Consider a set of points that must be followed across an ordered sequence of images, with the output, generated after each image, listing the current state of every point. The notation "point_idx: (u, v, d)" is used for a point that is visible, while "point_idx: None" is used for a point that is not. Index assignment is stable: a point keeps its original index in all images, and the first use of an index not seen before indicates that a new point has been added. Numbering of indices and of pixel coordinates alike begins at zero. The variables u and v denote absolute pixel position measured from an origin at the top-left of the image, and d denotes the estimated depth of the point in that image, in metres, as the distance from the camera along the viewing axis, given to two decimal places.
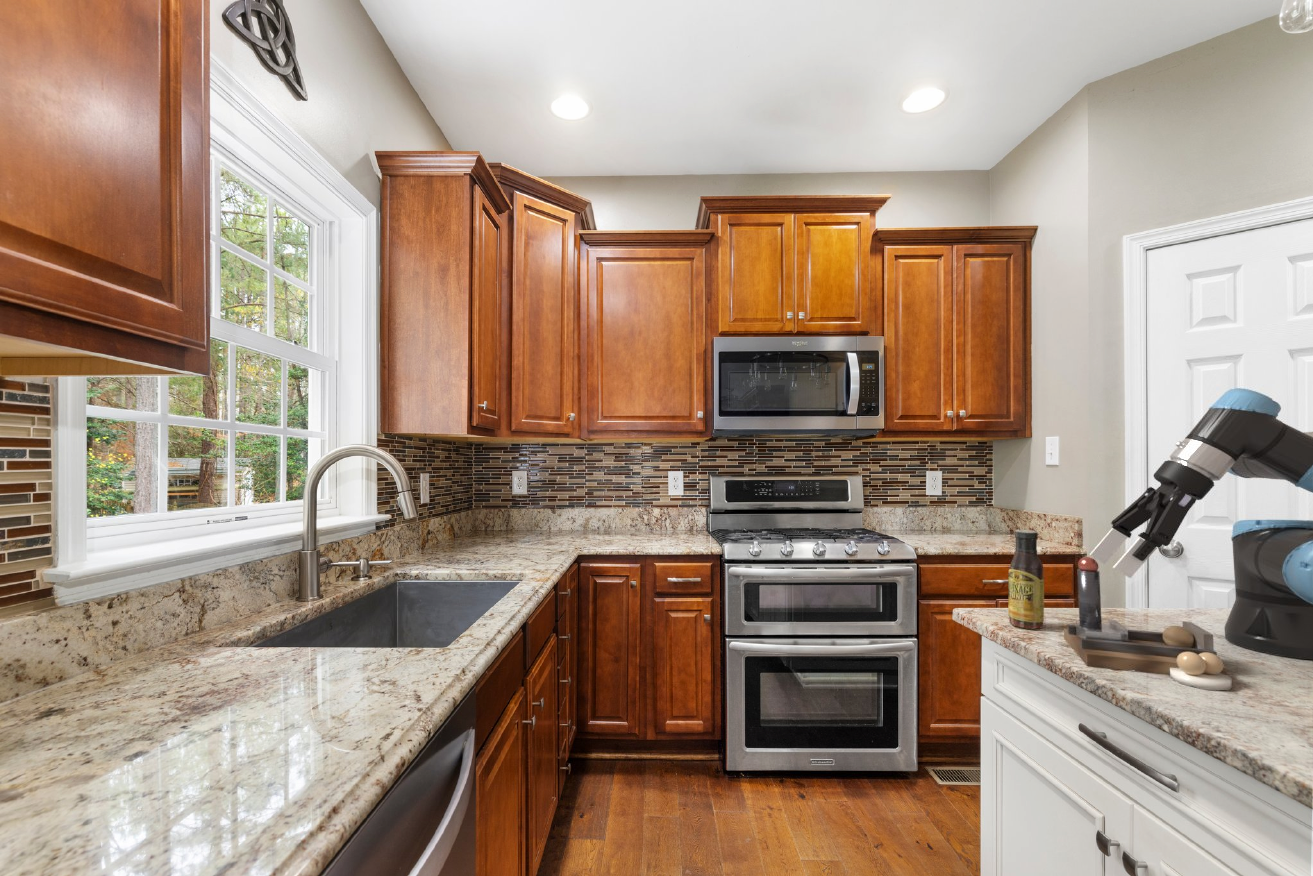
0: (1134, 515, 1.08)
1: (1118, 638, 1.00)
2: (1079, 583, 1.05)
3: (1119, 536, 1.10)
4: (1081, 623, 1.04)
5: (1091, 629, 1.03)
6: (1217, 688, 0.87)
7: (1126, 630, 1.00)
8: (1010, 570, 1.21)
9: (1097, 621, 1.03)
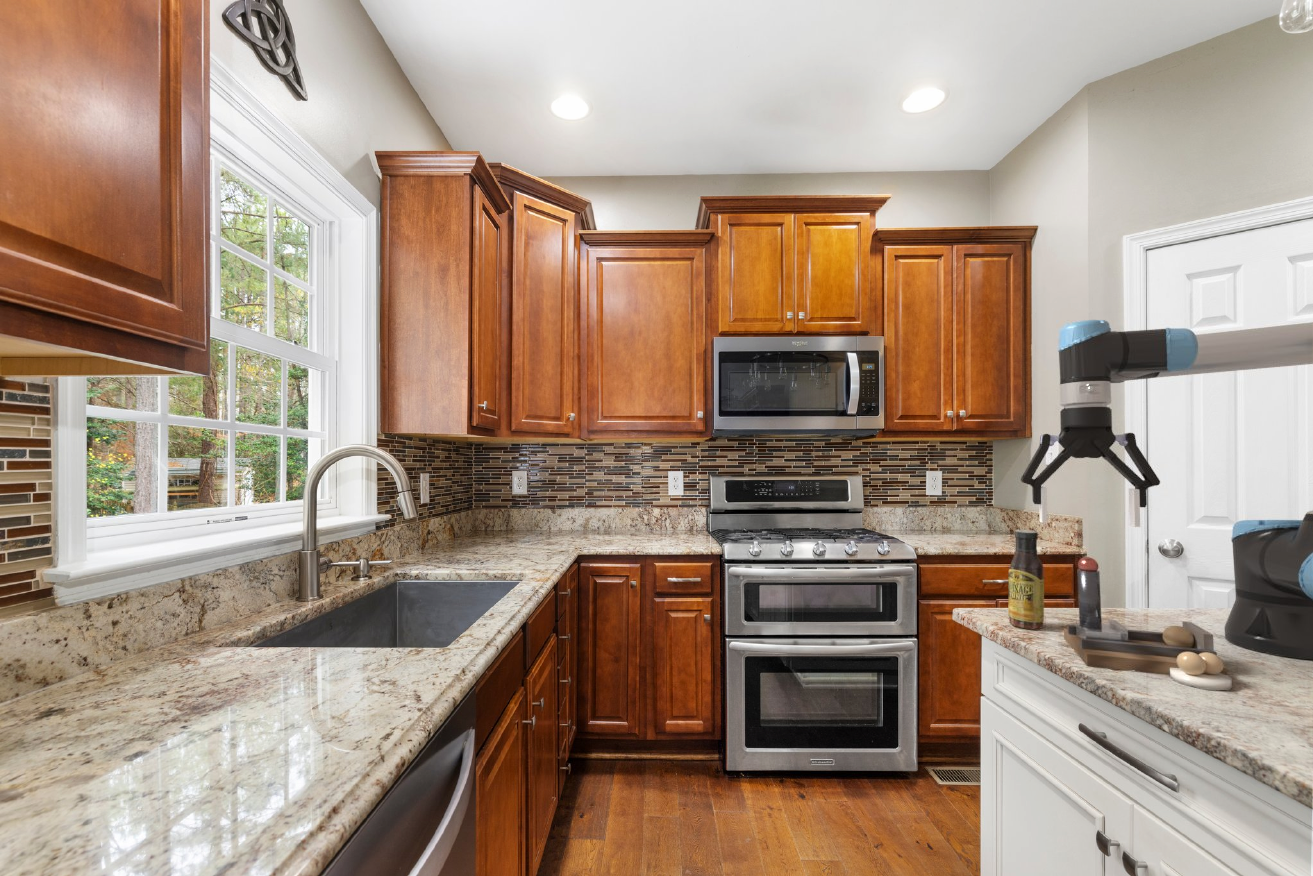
0: (1059, 466, 1.06)
1: (1118, 638, 1.00)
2: (1079, 583, 1.05)
3: None
4: (1081, 623, 1.04)
5: (1091, 629, 1.03)
6: (1217, 688, 0.87)
7: (1126, 630, 1.00)
8: (1010, 570, 1.21)
9: (1097, 621, 1.03)
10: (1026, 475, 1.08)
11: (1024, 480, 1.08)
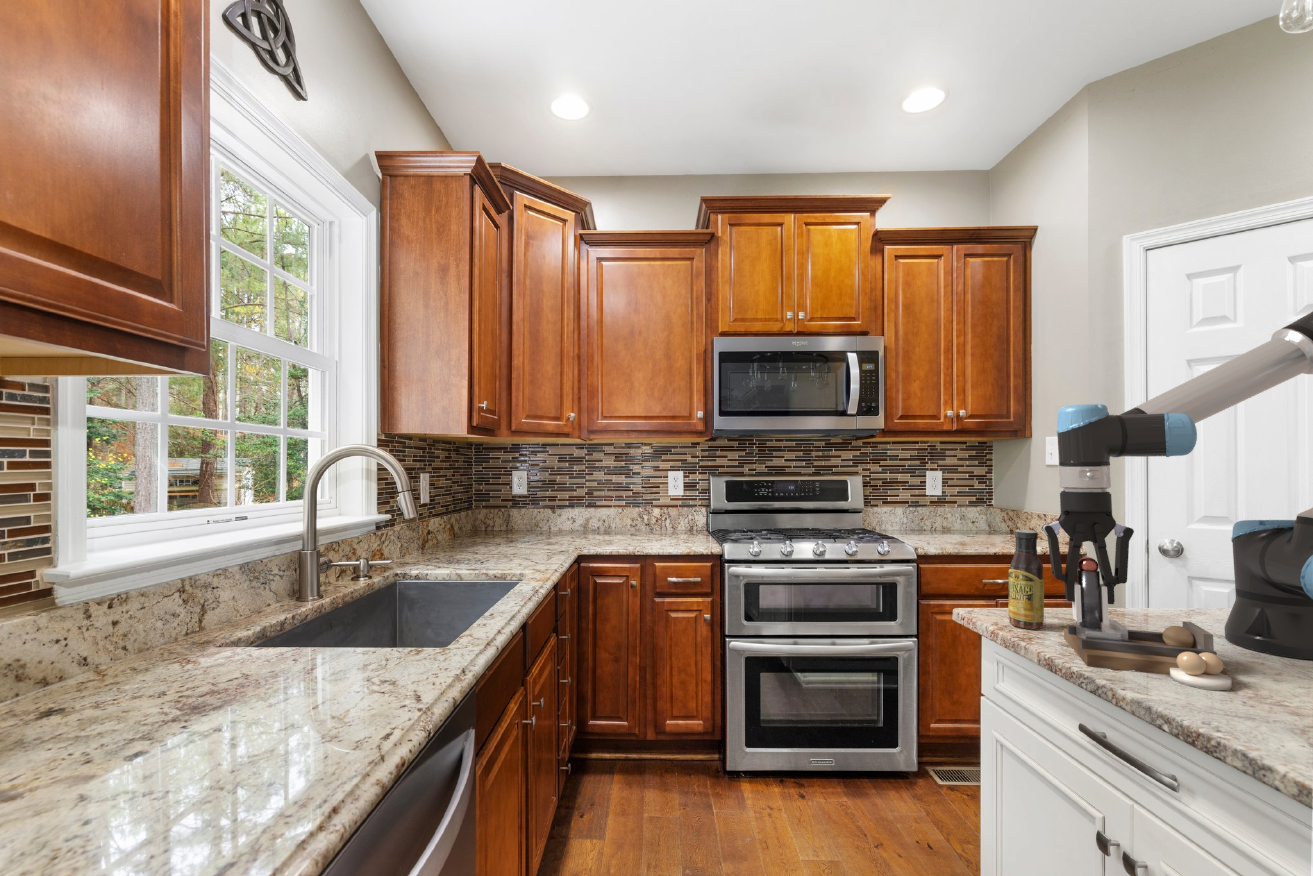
0: (1078, 555, 1.05)
1: (1118, 638, 1.00)
2: (1079, 583, 1.05)
3: None
4: (1081, 623, 1.04)
5: (1091, 629, 1.03)
6: (1217, 688, 0.87)
7: (1126, 630, 1.00)
8: (1010, 570, 1.21)
9: (1097, 621, 1.03)
10: (1056, 572, 1.06)
11: (1057, 577, 1.05)
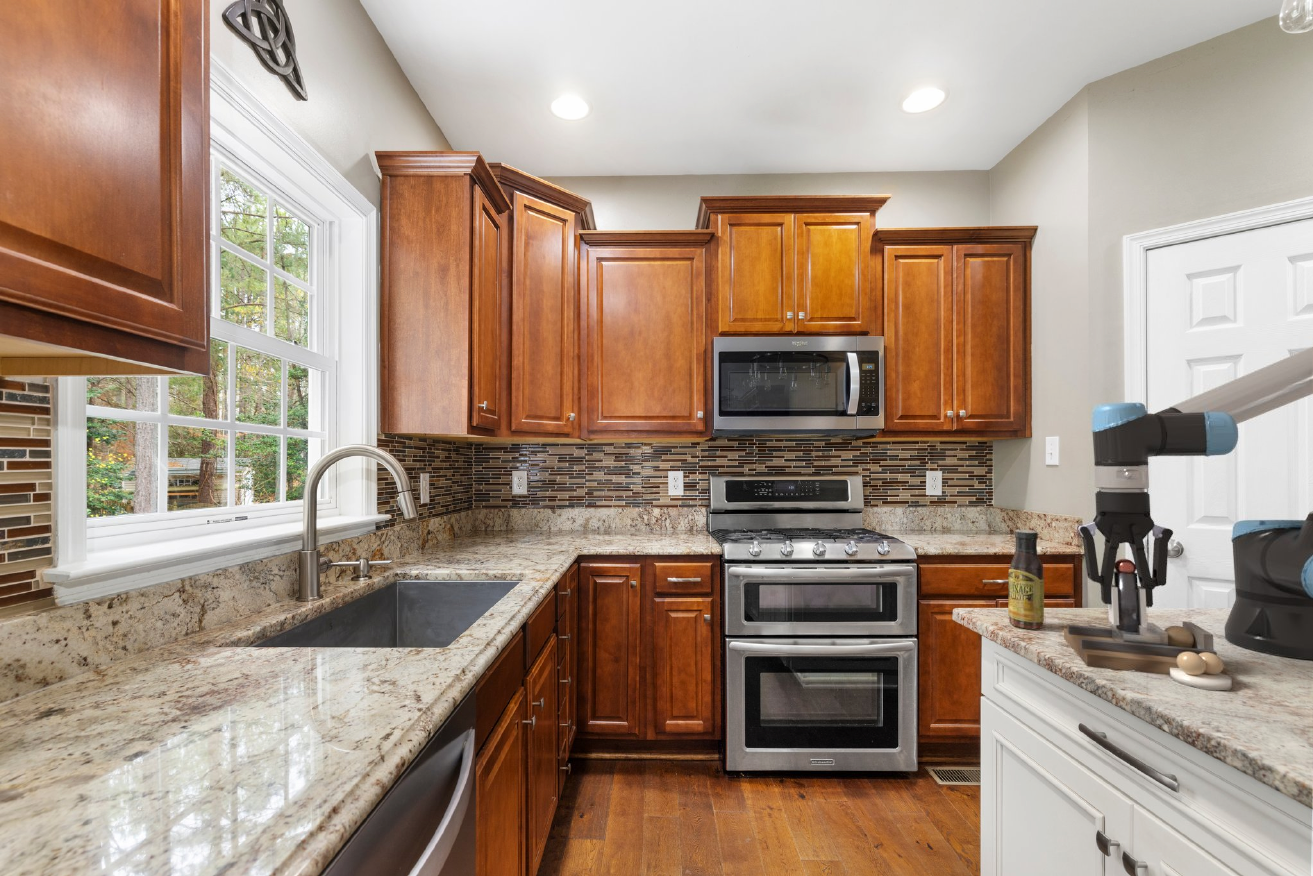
0: None
1: (1157, 641, 0.98)
2: (1116, 585, 1.03)
3: None
4: (1118, 626, 1.02)
5: (1129, 632, 1.00)
6: (1217, 688, 0.87)
7: (1166, 633, 0.98)
8: (1010, 570, 1.21)
9: (1135, 624, 1.01)
10: (1092, 574, 1.03)
11: (1093, 579, 1.03)
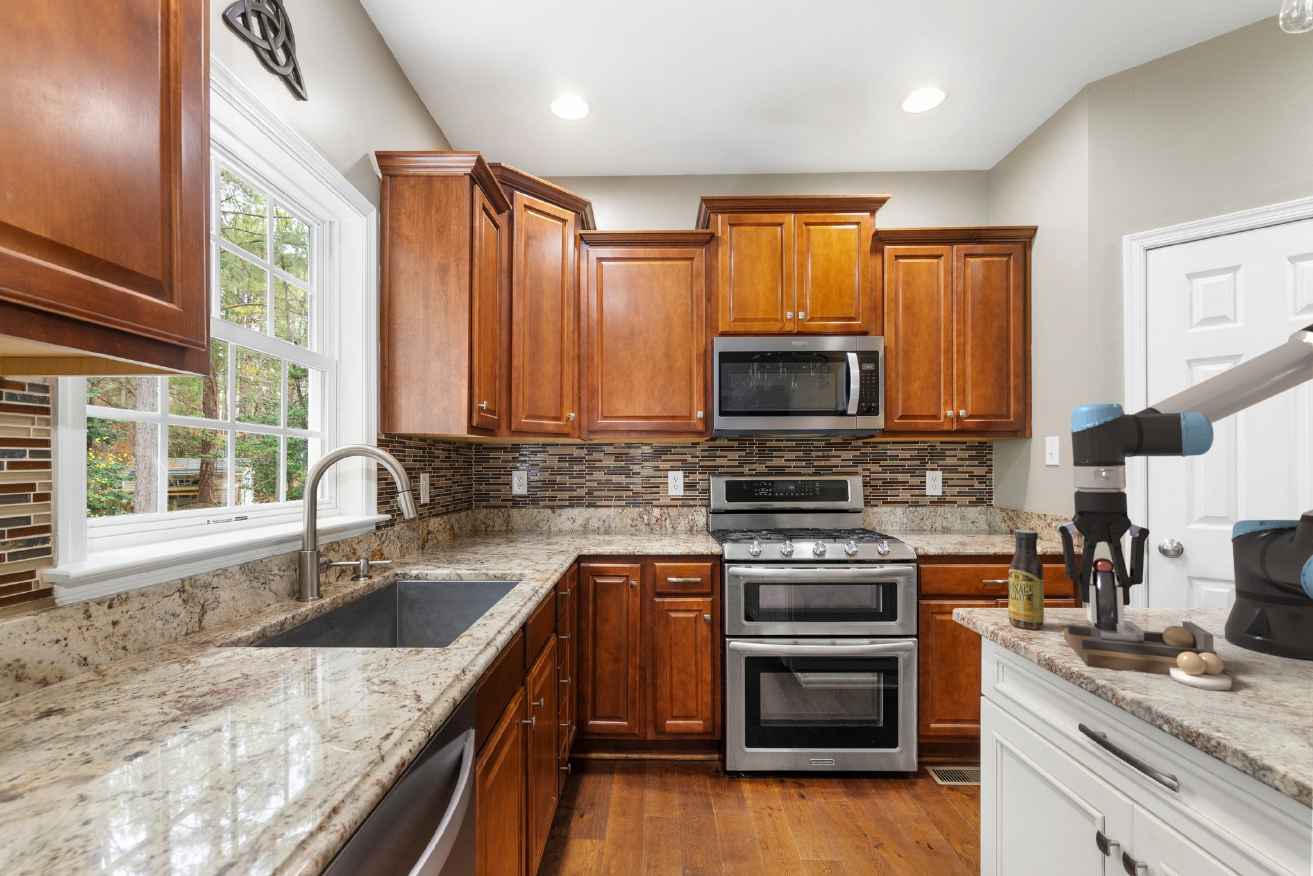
0: (1093, 556, 1.04)
1: (1134, 639, 0.99)
2: (1094, 584, 1.04)
3: None
4: (1096, 624, 1.04)
5: (1106, 630, 1.02)
6: (1217, 688, 0.87)
7: (1142, 631, 0.99)
8: (1010, 570, 1.21)
9: (1112, 622, 1.02)
10: (1070, 573, 1.05)
11: (1072, 578, 1.05)
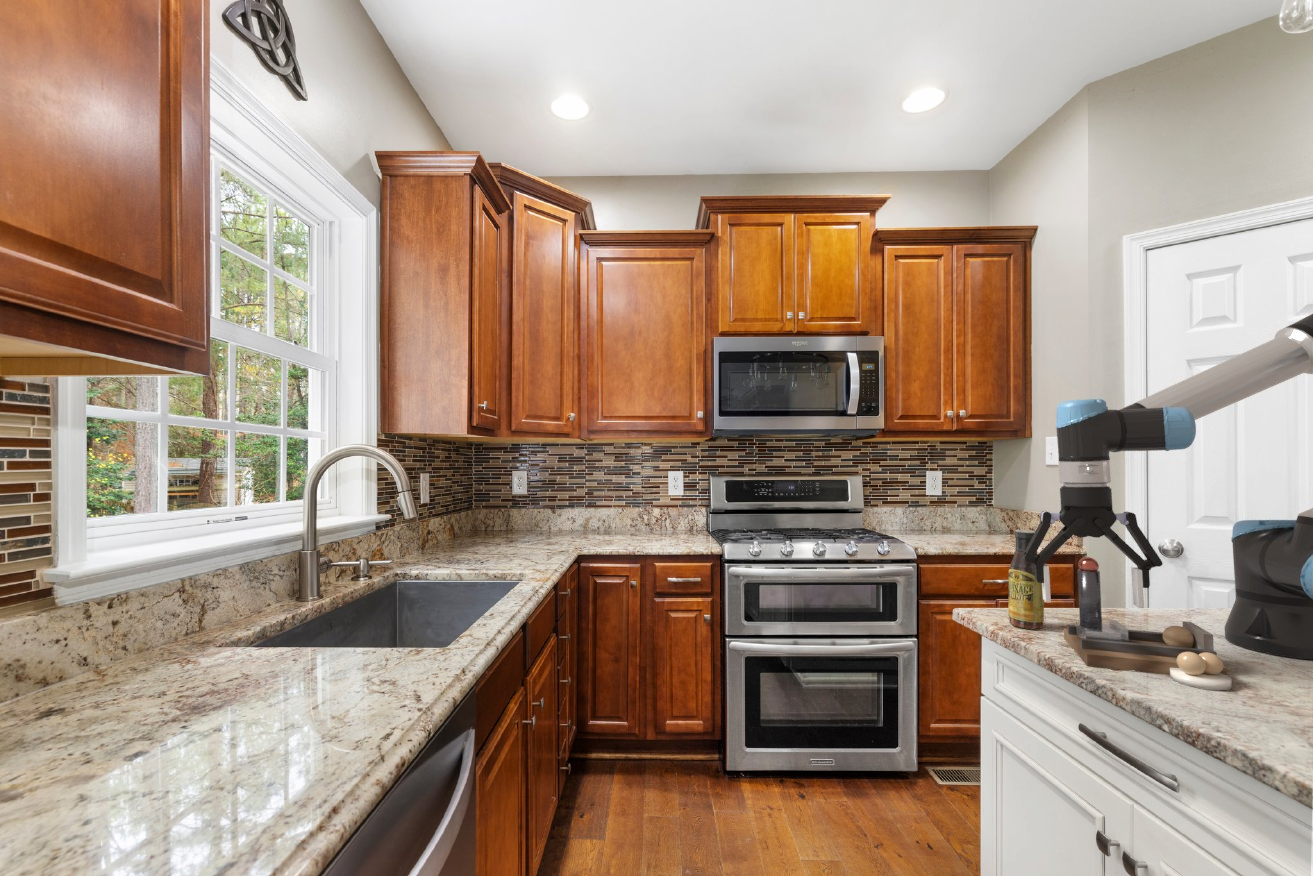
0: (1061, 545, 1.06)
1: (1118, 638, 1.00)
2: (1079, 583, 1.05)
3: None
4: (1081, 623, 1.04)
5: (1091, 629, 1.03)
6: (1217, 688, 0.87)
7: (1126, 630, 1.00)
8: (1010, 570, 1.21)
9: (1097, 621, 1.03)
10: (1028, 553, 1.07)
11: (1026, 558, 1.07)
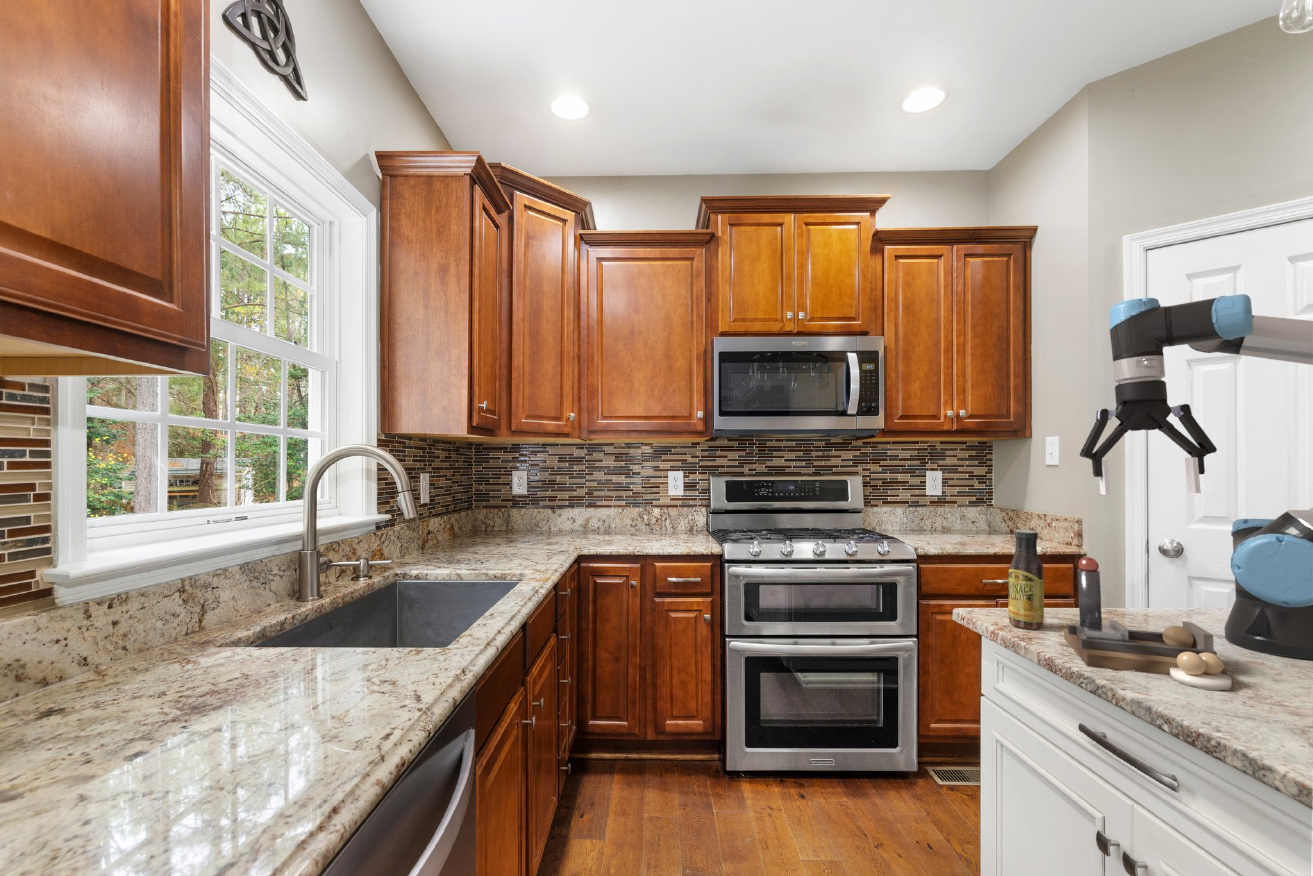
0: (1118, 439, 1.11)
1: (1118, 638, 1.00)
2: (1079, 583, 1.05)
3: None
4: (1081, 623, 1.04)
5: (1091, 629, 1.03)
6: (1217, 688, 0.87)
7: (1126, 630, 1.00)
8: (1010, 570, 1.21)
9: (1097, 621, 1.03)
10: (1087, 449, 1.12)
11: (1085, 454, 1.12)
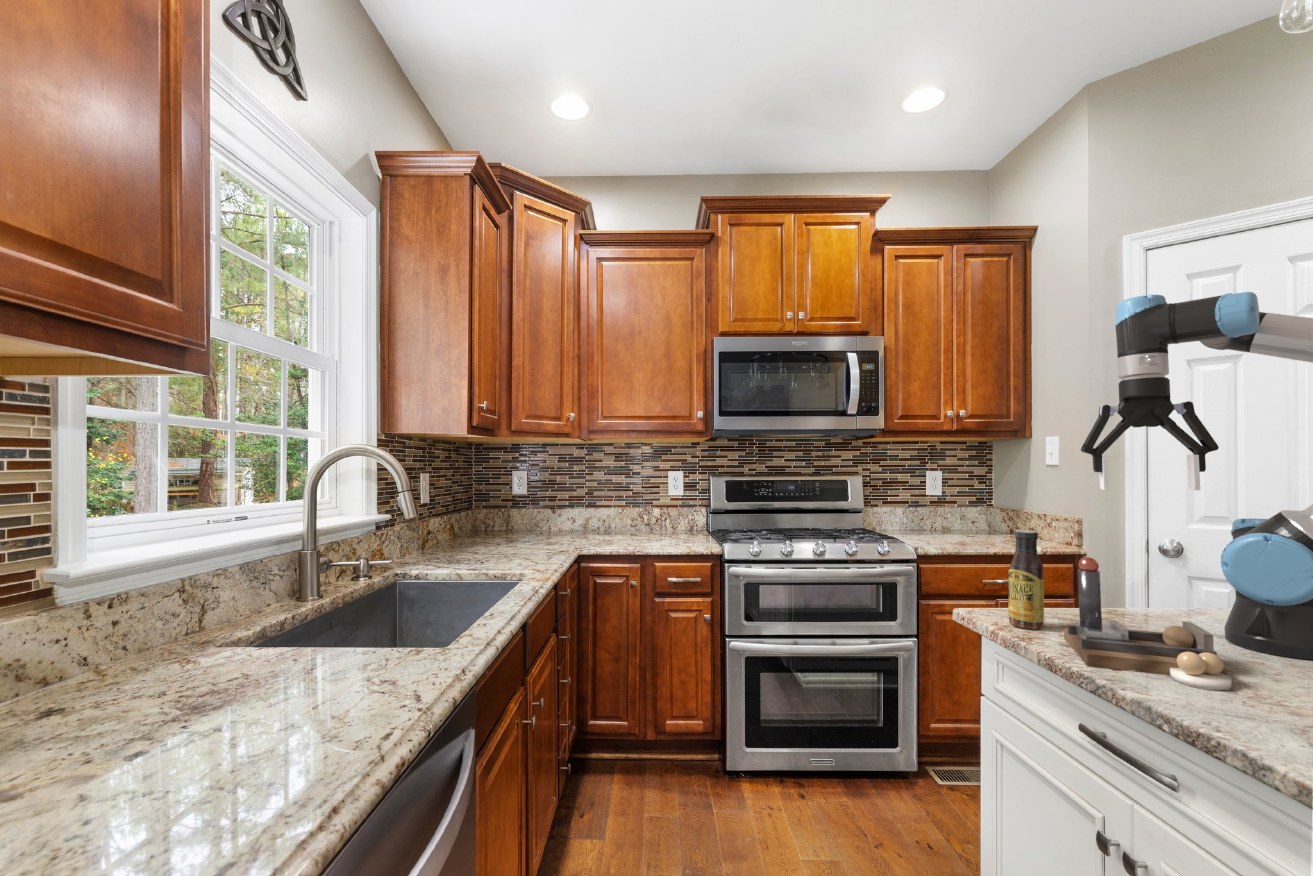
0: (1119, 435, 1.12)
1: (1118, 638, 1.00)
2: (1079, 583, 1.05)
3: None
4: (1081, 623, 1.04)
5: (1091, 629, 1.03)
6: (1217, 688, 0.87)
7: (1126, 630, 1.00)
8: (1010, 570, 1.21)
9: (1097, 621, 1.03)
10: (1087, 445, 1.13)
11: (1085, 449, 1.13)
